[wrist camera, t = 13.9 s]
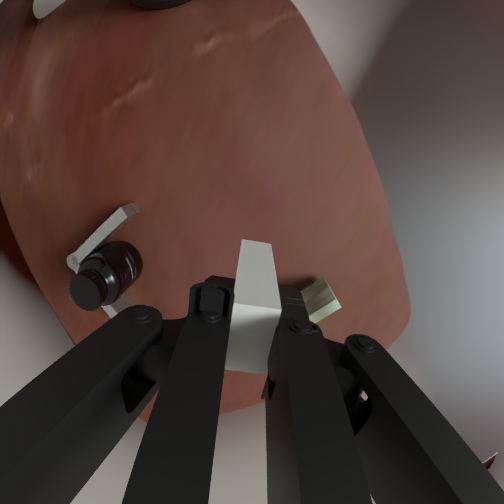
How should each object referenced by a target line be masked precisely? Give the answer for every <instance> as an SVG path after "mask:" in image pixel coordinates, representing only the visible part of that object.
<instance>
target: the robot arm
mask: <svg viewBox="0 0 504 504" xmlns="http://www.w3.org/2000/svg"><path fill="white" fill-rule="evenodd" d="M131 1H132V2H133V3H134V4H135V5H137V6H139V7H142V8H146V9H164V8H170V7H174V6H177V5H181V4H183V3H186V2H188V1H190V0H131ZM303 300H304V299H303V296H302V293H301V292H300V291H299V290H298V289H297V288H296V287H291V286H284V285H278V283H277V277H276V271H275V265H274V259H273V253H272V247H271V244H268V243H262V242H256V241H249V240H243V239H242V243H241V249H240V255H239V262H238V268H237V274H236V279H232V278H226V277H220V276H214V275H212V276H210V277H209V278H207V279H206V280H205V282H203V283H198V284H195V285H193V286H192V287H191V288H190V297H189V311H188V315H187V317H185V318H181V319H173V320H162V314H161V313H160V312H159V311H158V310H157V309H155V308H153V307H150V306H146V305H134V306H129V307H127V308H125V309H123V310H122V311H121V312H119V313H118V314H117V315H115V316H114V317H113V318H111V319H110V320H109V321H107V322H106V323H105V324H103V325H102V326H101V327H99V328H98V329H97V330H95V331H94V332H93V333H91V334H90V335H89V336H88V337H86V338H85V339H84V340H82V341H81V342H80V343H79V344H77V345H76V346H75V347H73V348H72V349H71V350H70V351H68V352H67V353H66V354H65V355H64V356H62V357H61V358H60V359H58V360H57V361H56V362H54V363H53V364H52V365H51V366H49V367H48V368H47V369H46V370H44V371H43V372H42V373H41V374H39V375H38V376H37V377H36V378H34V379H33V380H32V381H31V382H30V383H28V384H27V385H26V386H25V387H23V388H22V389H21V390H20V391H19V392H17V393H16V394H15V395H14V396H13V397H11V398H10V399H9V400H8V401H7V402H5V403H4V404H3V405H2V406H1V407H0V504H70V503H71V501H72V500H73V499H74V497H75V496H76V495H77V494H78V493H79V491H80V490H81V489H82V488H83V486H84V485H85V484H86V483H87V481H88V480H89V479H90V477H91V476H92V475H93V474H94V472H95V471H96V470H97V469H98V467H99V466H100V465H101V463H102V462H103V461H104V459H105V458H106V457H107V456H108V454H109V453H110V452H111V451H112V449H113V448H114V447H115V446H116V444H117V443H118V442H119V440H120V439H121V438H122V437H123V435H124V434H125V433H126V431H127V430H128V429H129V428H130V426H131V425H132V424H133V422H134V421H135V420H136V418H137V417H138V416H139V415H140V413H141V412H142V411H143V409H144V408H145V407H146V406H147V404H148V403H149V402H150V400H151V399H152V398H153V396H154V395H155V394H156V393H157V391H158V390H159V392H158V394H157V397H156V400H155V403H154V406H153V409H152V411H151V414H150V417H149V420H148V423H147V426H146V429H145V432H144V435H143V438H142V441H141V444H140V447H139V450H138V453H137V456H136V459H135V462H134V465H133V468H132V472H131V475H130V478H129V481H128V484H127V488H126V491H125V495H124V498H123V501H122V504H208V499H209V491H210V482H211V474H212V465H213V457H214V449H215V440H216V432H217V424H218V416H219V408H220V400H221V392H222V385H223V377H224V369H227V370H234V371H242V372H249V373H258V374H265V372H266V368H267V365H268V375H267V379H266V382H265V386H264V389H263V392H262V396H261V399H264V397H265V405H266V442H267V443H266V446H267V494H268V495H267V496H268V504H372V500H371V496H372V498H373V499H374V501H375V503H376V504H504V491H503V490H502V489H501V487H500V486H499V484H498V483H497V482H496V481H495V479H494V478H493V477H492V475H491V474H490V473H489V471H488V470H487V469H486V468H485V466H484V465H483V464H482V463H481V461H480V460H479V459H478V458H477V456H476V455H475V454H474V453H473V451H472V450H471V449H470V448H469V446H468V445H467V444H466V443H465V441H464V440H463V439H462V438H461V437H460V436H459V434H458V433H457V432H456V431H455V430H454V428H453V427H452V426H451V425H450V423H449V422H448V421H447V420H446V419H445V417H444V416H443V415H442V414H441V413H440V411H439V410H438V409H437V408H436V407H435V406H434V404H433V403H432V402H431V401H430V400H429V399H428V397H427V396H426V395H425V394H424V393H423V392H422V391H421V390H420V388H419V387H418V386H417V385H416V384H415V382H414V381H413V380H412V379H411V378H410V377H409V376H408V375H407V373H406V372H405V371H404V370H403V369H402V368H401V367H400V365H399V364H398V363H397V362H396V361H395V360H394V359H393V358H392V357H391V355H390V354H389V353H388V352H387V351H386V350H385V349H384V348H383V347H382V345H381V344H380V343H378V342H377V341H376V340H375V339H373V338H371V337H369V336H365V335H362V334H353V335H350V336H348V337H347V338H346V340H345V342H344V344H342V343H338V342H335V341H331V340H329V339H326V338H324V337H323V334H322V331H321V329H320V328H319V326H318V325H316V324H315V323H314V322H312V321H310V319H309V316H308V312H307V309H306V306H305V303H304V301H303ZM363 391H365V393H366V394H367V396H368V399H367V400H366V401H365V400H364V399H363V398H362V397H361V394H362V392H363ZM370 494H371V496H370Z"/></svg>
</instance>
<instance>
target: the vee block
mask: <svg viewBox="0 0 504 504" xmlns="http://www.w3.org/2000/svg"><path fill="white" fill-rule="evenodd" d="M141 211H142V209H141V208H140V207H139V205H138V204H137V202H133V203H130V204H127V205H125V206H122V207H120V208H119V209H118V210H117V211H116V212H115V213H114V214H112V215H111V216H110V217H109V218H108V219H107V220H106V221H105V222H104V223H103V224H102V225H101V226H100V227H99V228H98V229H97V230H96V231H95V232H94V233H93V234H92V235H91V236H90V237H89V238H88V239H87V240H86V241H85V242H84V243H83V244H82V245H81V246H80V248H79V249H78V250H77V251H75V252H74V253H72V254H70V255H69V256H68V257H67V264H68V266H69V268H70V269H72V270H74V271H75V273H76V274H77V273H78V269H79V266H80V264H81V263H82V262H83V261H84V260H85V259H86V258H87V257H89V256H91V255H92V254H94V253H96V252H97V251H98V250H99V249H100V248H101V247H102V246H103V245H104V244H105V243H106V242H107V241H108V240H110V239H111V238H112V237H113V236H114V235H115V234H116V233H117V232H118V231H119V230H120V229H121V228H123V227H124V226H125V225H126V224H127V223H128V222H129V221H130V220H132V219H133V218H134V217H135V216H136V215H137V214H138V213H140V212H141ZM134 305H135V304H134V303H133V302H132V300H131V299H130V298H129V297H128V296H127V294H126V293H125V292H124V293H123V295H122V296H121V297H120V298H119V299H118V300H117V301H115V302H114V303H113V304H111V305H108V306H101V307H102V308H103V309H104V310H105V311H106V313H107V314H108V315H109V316H110V317H111V318H113V317H114V316H115V315H117V314H118V313H119V312H121V311H122V310H123V309H125V308H127V307H129V306H134Z"/></svg>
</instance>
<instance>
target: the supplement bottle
mask: <svg viewBox="0 0 504 504" xmlns="http://www.w3.org/2000/svg"><path fill="white" fill-rule="evenodd" d="M142 267H143V264H142V259H141V256H140V254H139V252H138V250H137V249H136V248H135V247H134V246H133V245H131V244H130V243H128V242H124V241H116V242H113V243H111V244H109V245H108V246H106V247H104V248H103V249H101V250H99V251H97V252H96V253H94V254H92V255H91V256H89V257H87V258H86V259H85V260H84V261H83V262H82V263H81V264H80V266H79V269H78V273H77V274H76V275H75V276H74V277H72V279H71V281H70V285H69V290H70V294H71V297H72V299H73V301H74V302H75V303H76V304H77V306H79V307H80V308H82V309H83V310H86V311H93V310H96V309H97V308H98V307H99V306H108V305H111V304H113V303H114V302H115V301H117V300H118V299H119V298H120V297H121V296H122V295H123V293H124V292H125V291H126V290H127V289H128V288H129V287H130V286H131V285H132V284H133V283H134V282H135V281H136V280H137V279H138V278H139V276H140V275H141V272H142Z"/></svg>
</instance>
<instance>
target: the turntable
mask: <svg viewBox="0 0 504 504" xmlns="http://www.w3.org/2000/svg"><path fill="white" fill-rule="evenodd" d="M300 292H301V293H302V296H303V299H304V300H303V301H304V303H305V306H306V309H307V312H308V316H309V319H310V321H312V322H314V323H317V322H318V321H320V320H322V319H323V318H325V317H326V316H328V315H330V314H331V313H333V312H335V311H336V310H338V309H339V308H341V306H340V304H339V302H338V301H337V299H336V297H335V295H334V294H333V292H332V290H331V288H330V287H329V285H328V283H327V282H326V280H325V278H324V277H322V278H321V279H319V280H317V281H316V282H314V283H313V284H311V285H310V286H308V287H306V288H305V289H303V290H302V291H300Z"/></svg>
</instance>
